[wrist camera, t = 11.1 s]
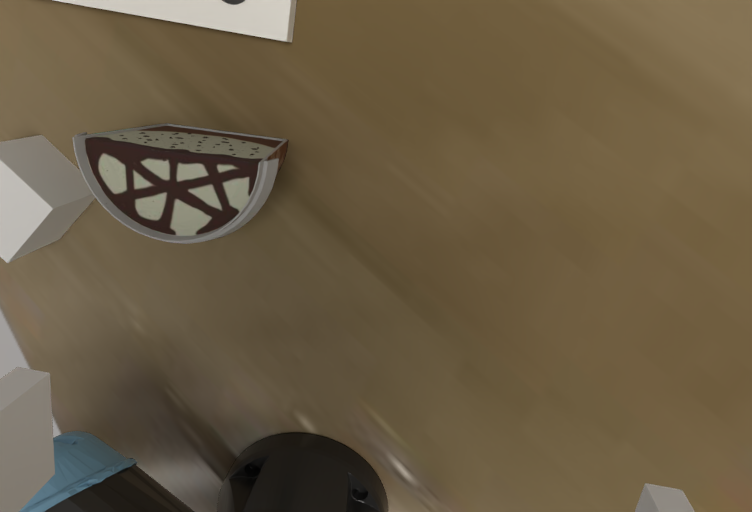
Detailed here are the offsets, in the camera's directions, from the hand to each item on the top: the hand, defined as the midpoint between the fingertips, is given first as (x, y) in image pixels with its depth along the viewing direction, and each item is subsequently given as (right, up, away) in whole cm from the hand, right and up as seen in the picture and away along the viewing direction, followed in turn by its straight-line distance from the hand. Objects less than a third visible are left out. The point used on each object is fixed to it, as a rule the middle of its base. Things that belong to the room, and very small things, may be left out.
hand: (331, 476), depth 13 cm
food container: (-10, +11, +31) cm, 35 cm away
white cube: (-25, +10, +33) cm, 43 cm away
